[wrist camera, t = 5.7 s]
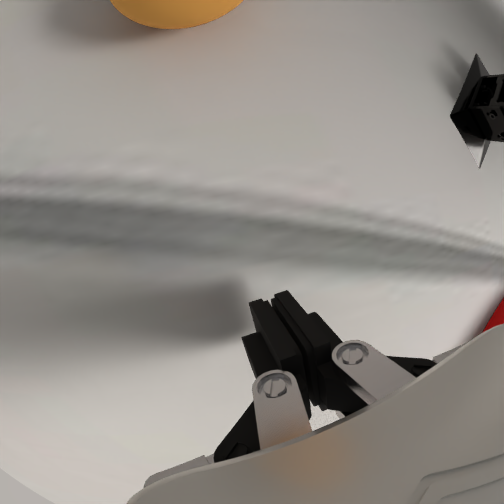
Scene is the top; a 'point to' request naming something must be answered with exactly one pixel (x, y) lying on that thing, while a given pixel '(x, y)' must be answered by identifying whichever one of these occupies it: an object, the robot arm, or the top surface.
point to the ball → (174, 11)
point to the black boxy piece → (480, 110)
